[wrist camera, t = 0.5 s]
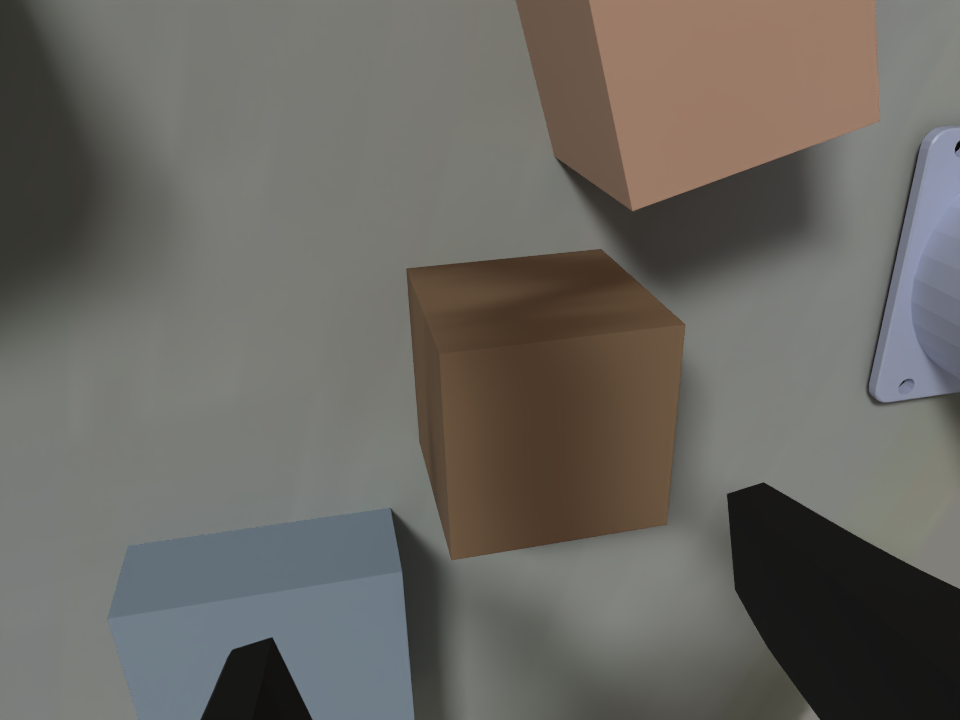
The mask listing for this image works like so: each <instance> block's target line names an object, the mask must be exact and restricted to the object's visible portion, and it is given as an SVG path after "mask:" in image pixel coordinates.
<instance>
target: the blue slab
mask: <svg viewBox="0 0 960 720" xmlns="http://www.w3.org/2000/svg"><path fill="white" fill-rule="evenodd" d="M107 620H108V623H109V626H110V629H111V632H112V636H113V639H114V642H115V645H116V649H117V652H118V655H119V658H120V661H121V665H122V668H123V671H124V674H125V677H126V681H127V684H128V687H129V690H130V693H131V697H132V700H133V703H134V706H135V710H136V713H137V716H138V719H139V720H200V719H201V717H202V715H203V713H204V710H205V708H206V706H207V704H208V701H209V699H210V697H211V694H212V692H213V690H214V687H215V685H216V683H217V680H218V678H219V676H220V673H221V671H222V669H223V666H224V664H225V662H226V659H227V657H228V656H229V654H230V652H231V651H232V649H236V648H239V647H242V646H245V645H248V644H252V643H255V642H258V641H261V640H264V639H267V638H271V637H273V639H274V641H275V643H276V645H277V647H278V650H279V652H280V654H281V656H282V658H283V660H284V662H285V664H286V666H287V668H288V670H289V672H290V674H291V676H292V678H293V680H294V682H295V684H296V687H297V689H298V691H299V693H300V695H301V697H302V699H303V701H304V703H305V705H306V707H307V709H308V711H309V713H310V715H311V717H312V719H313V720H414V708H413V696H412V684H411V672H410V660H409V648H408V636H407V625H406V613H405V601H404V589H403V577H402V569H401V563H400V558H399V552H398V547H397V541H396V536H395V530H394V525H393V519H392V514H391V509H390V508H387V509H380V510H373V511H366V512H360V513H353V514H346V515H339V516H332V517H325V518H318V519H311V520H304V521H297V522H290V523H283V524H276V525H269V526H263V527H256V528H249V529H242V530H235V531H228V532H221V533H214V534H207V535H200V536H193V537H186V538H179V539H173V540H166V541H159V542H152V543H145V544H138V545H131V546H128V548H127V551H126V555H125V558H124V562H123V565H122V569H121V572H120V576H119V579H118V583H117V586H116V590H115V593H114V597H113V601H112V604H111V608H110V611H109V615H108V618H107Z"/></svg>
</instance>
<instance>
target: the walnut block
mask: <svg viewBox="0 0 960 720" xmlns="http://www.w3.org/2000/svg"><path fill="white" fill-rule="evenodd" d="M406 270H407V283H408V296H409V309H410V322H411V336H412V349H413V362H414V375H415V388H416V401H417V415H418V428H419V441H420V446H421V449H422V453H423V457H424V460H425V464H426V468H427V471H428V475H429V479H430V483H431V486H432V490H433V494H434V497H435V501H436V505H437V509H438V512H439V516H440V520H441V523H442V527H443V531H444V535H445V538H446V542H447V546H448V549H449V553H450V557H451V560H456V559H462V558H468V557H474V556H480V555H486V554H492V553H499V552H505V551H511V550H517V549H523V548H529V547H535V546H541V545H547V544H553V543H559V542H565V541H571V540H577V539H583V538H589V537H595V536H601V535H607V534H613V533H619V532H625V531H631V530H637V529H643V528H649V527H655V526H661V525H667V515H668V505H669V494H670V483H671V473H672V462H673V451H674V441H675V430H676V419H677V409H678V398H679V387H680V377H681V366H682V355H683V345H684V334H685V324H684V323H683V322H682V321H681V320H680V319H679V318H677V317H676V316H675V315H674V314H673V313H672V312H671V311H670V310H669V309H667V308H666V307H665V306H664V305H663V304H662V303H661V302H660V301H658V300H657V299H656V298H655V297H654V296H653V295H652V294H651V293H650V292H648V291H647V290H646V289H645V288H644V287H643V286H642V285H641V284H640V283H638V282H637V281H636V280H635V279H634V278H633V277H632V276H631V275H629V274H628V273H627V272H626V271H625V270H624V269H623V268H622V267H621V266H619V265H618V264H617V263H616V262H615V261H614V260H613V259H612V258H610V257H609V256H608V255H607V254H606V253H605V252H604V251H603V250H602V249H598V250H588V251H578V252H568V253H558V254H548V255H538V256H528V257H518V258H508V259H498V260H488V261H478V262H468V263H458V264H448V265H438V266H428V267H417V268H407V269H406Z"/></svg>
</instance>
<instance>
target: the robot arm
mask: <svg viewBox="0 0 960 720" xmlns="http://www.w3.org/2000/svg"><path fill="white" fill-rule="evenodd" d="M959 141H960V125H955V126H942V127H938V128H935V129H933V130H932V131H931V132H929V133H928V134H927V136H926V137H925V138H924V139H923V142H922V144H921V147H920V151H919V155H918V160H917V165H916V169H915V174H914V179H913V183H912V188H911V193H910V197H909V202H908V206H907V211H906V216H905V220H904V225H903V230H902V234H901V239H900V244H899V248H898V253H897V257H896V262H895V267H894V271H893V276H892V281H891V285H890V290H889V295H888V299H887V304H886V308H885V313H884V318H883V322H882V327H881V332H880V336H879V341H878V346H877V350H876V355H875V359H874V364H873V369H872V373H871V378H870V383H869V392H870V394H871V395H872V396H873V397H874V398H876V399H877V400H879V401H880V402H885V403H888V402H895V401H902V400H909V399H916V398H923V397H929V396H936V395H943V394H950V393H957V392H960V148H959V150H958V151H957V152H956V153H955V147H956V144H957V143H958V142H959ZM904 380H905V381H904ZM903 381H904V383H903V384H902V385H901V386H900V384H901V383H902V382H903ZM899 386H900V387H899ZM727 500H728V511H729V523H730V535H731V547H732V559H733V570H734V582H735V590H736V592H737V594H738V596H739V598H740V599H741V601H742V603H743V605H744V607H745V609H746V610H747V612H748V614H749V616H750V618H751V619H752V621H753V623H754V625H755V626H756V628H757V630H758V632H759V633H760V635H761V637H762V638H763V640H764V642H765V644H766V645H767V647H768V649H769V650H770V651H771V653H772V654H773V656H774V657H775V658H776V660H777V661H778V663H779V664H780V665H781V667H782V668H783V670H784V671H785V672H786V674H787V675H788V676H789V678H790V679H791V681H792V682H793V683H794V685H795V686H796V687H797V689H798V690H799V692H800V693H801V694H802V696H803V697H804V698H805V700H806V701H807V702H808V704H809V705H810V706H811V708H812V709H813V711H814V712H815V713H816V715H817V716H818V717H819V718H820V720H960V589H959V588H957V587H954V586H952V585H950V584H948V583H946V582H944V581H942V580H940V579H938V578H936V577H934V576H931V575H929V574H927V573H925V572H923V571H921V570H919V569H917V568H915V567H913V566H911V565H909V564H907V563H906V562H904V561H902V560H900V559H898V558H896V557H894V556H892V555H890V554H889V553H887V552H885V551H883V550H881V549H879V548H877V547H876V546H874V545H872V544H870V543H868V542H866V541H864V540H863V539H861V538H859V537H857V536H856V535H854V534H852V533H850V532H848V531H847V530H845V529H843V528H841V527H840V526H838V525H836V524H834V523H833V522H831V521H829V520H828V519H826V518H824V517H822V516H821V515H819V514H817V513H815V512H814V511H812V510H810V509H809V508H807V507H805V506H803V505H802V504H800V503H798V502H797V501H795V500H793V499H791V498H790V497H788V496H786V495H785V494H783V493H781V492H779V491H778V490H776V489H774V488H773V487H771V486H769V485H767V484H766V483H760V484H757V485H754V486H751V487H748V488H744V489H741V490H738V491H735V492H732V493H729V494H727ZM200 720H313V719H312V717H311V715H310V713H309V711H308V709H307V707H306V705H305V703H304V701H303V699H302V697H301V695H300V693H299V691H298V689H297V687H296V684H295V682H294V680H293V678H292V676H291V674H290V672H289V670H288V668H287V666H286V664H285V662H284V660H283V658H282V656H281V654H280V652H279V650H278V647H277V645H276V643H275V641H274V639H273V637H271V638H267V639H264V640H261V641H258V642H255V643H252V644H248V645H245V646H242V647H239V648H236V649H232V651H231V652H230V654H229V656H228V657H227V659H226V662H225V664H224V666H223V669H222V671H221V673H220V676H219V678H218V680H217V683H216V685H215V687H214V690H213V692H212V694H211V697H210V699H209V701H208V704H207V706H206V708H205V710H204V713H203V715H202V717H201V719H200Z"/></svg>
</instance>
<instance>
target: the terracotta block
mask: <svg viewBox="0 0 960 720" xmlns="http://www.w3.org/2000/svg"><path fill="white" fill-rule="evenodd" d="M516 3H517V7H518V11H519V15H520V19H521V23H522V27H523V31H524V36H525V40H526V44H527V48H528V52H529V56H530V60H531V64H532V68H533V72H534V76H535V80H536V84H537V88H538V92H539V96H540V100H541V104H542V108H543V112H544V116H545V120H546V124H547V128H548V132H549V136H550V140H551V144H552V148H553V152H554V156H555V157H556V158H558V159H559V160H560V161H562V162H563V163H565V164H566V165H567V166H569V167H570V168H572V169H573V170H575V171H576V172H577V173H579V174H580V175H582V176H583V177H585V178H586V179H587V180H589V181H590V182H592V183H593V184H594V185H596V186H597V187H599V188H600V189H602V190H603V191H604V192H606V193H607V194H609V195H610V196H612V197H613V198H614V199H616V200H617V201H619V202H620V203H622V204H623V205H624V206H626V207H627V208H629V209H630V210H631V211H634V210H637V209H640V208H643V207H645V206H648V205H651V204H654V203H656V202H659V201H662V200H665V199H667V198H670V197H673V196H676V195H678V194H681V193H684V192H687V191H689V190H692V189H695V188H698V187H700V186H703V185H706V184H709V183H711V182H714V181H717V180H720V179H722V178H725V177H728V176H731V175H733V174H736V173H739V172H742V171H744V170H747V169H750V168H753V167H755V166H758V165H761V164H764V163H766V162H769V161H772V160H775V159H777V158H780V157H783V156H786V155H788V154H791V153H794V152H797V151H799V150H802V149H805V148H808V147H810V146H813V145H816V144H819V143H821V142H824V141H827V140H829V139H832V138H835V137H838V136H840V135H843V134H846V133H849V132H851V131H854V130H857V129H860V128H862V127H865V126H868V125H871V124H873V123H876V122H879V121H880V106H879V82H878V58H877V34H876V10H875V0H516Z"/></svg>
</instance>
